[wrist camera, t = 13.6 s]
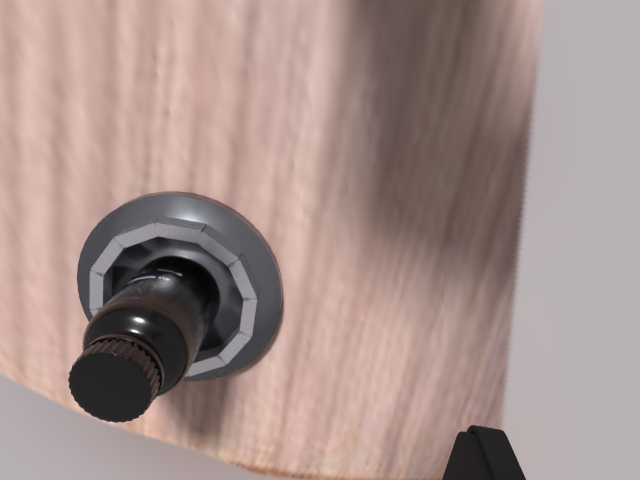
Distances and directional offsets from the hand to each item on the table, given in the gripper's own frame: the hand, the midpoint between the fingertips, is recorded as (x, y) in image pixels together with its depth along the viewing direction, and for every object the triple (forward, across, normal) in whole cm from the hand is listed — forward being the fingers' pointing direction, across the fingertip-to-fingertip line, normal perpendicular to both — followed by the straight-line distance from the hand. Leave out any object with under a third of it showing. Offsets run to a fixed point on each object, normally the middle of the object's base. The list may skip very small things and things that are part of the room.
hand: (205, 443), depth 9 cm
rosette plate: (+28, +8, +12) cm, 32 cm away
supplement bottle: (+27, +8, +12) cm, 31 cm away
